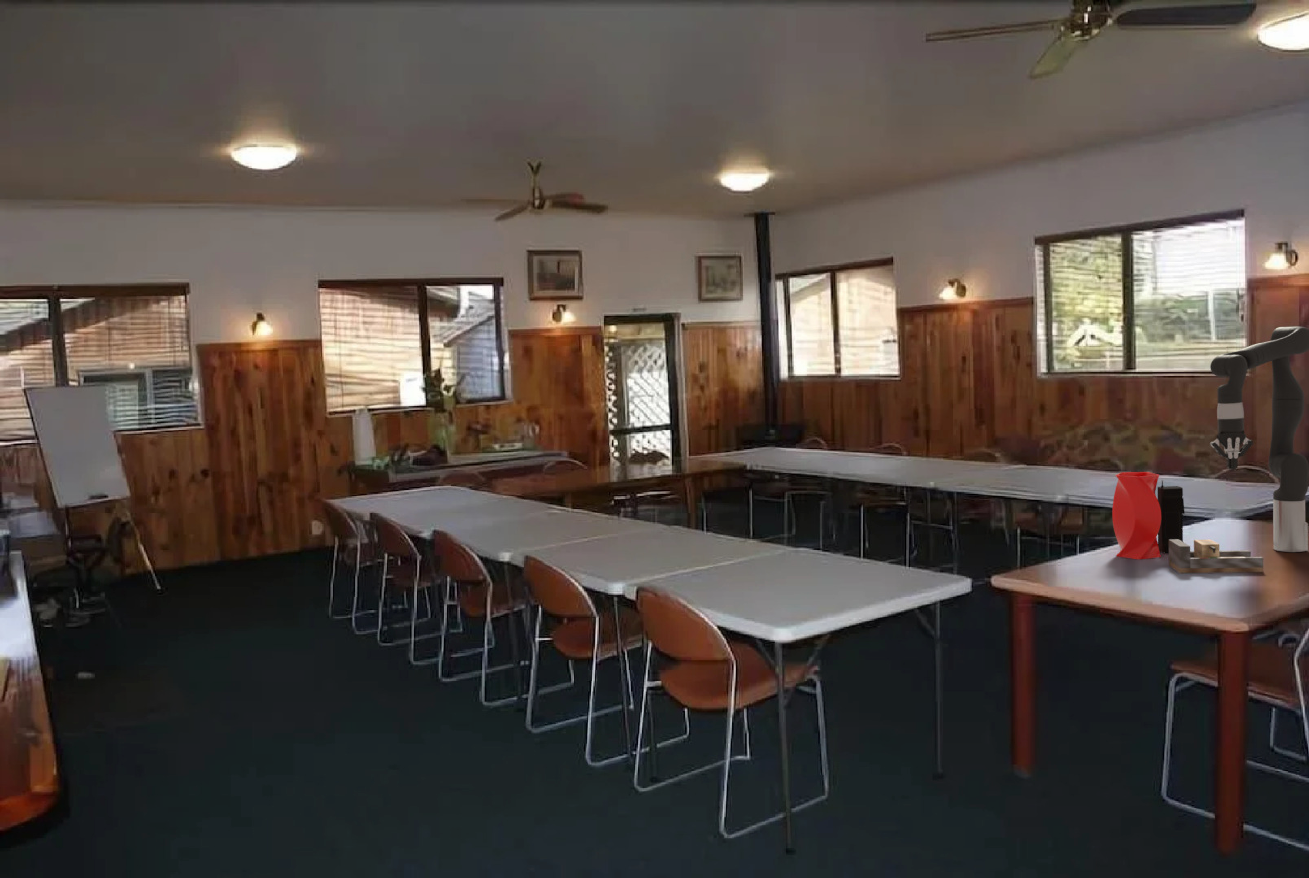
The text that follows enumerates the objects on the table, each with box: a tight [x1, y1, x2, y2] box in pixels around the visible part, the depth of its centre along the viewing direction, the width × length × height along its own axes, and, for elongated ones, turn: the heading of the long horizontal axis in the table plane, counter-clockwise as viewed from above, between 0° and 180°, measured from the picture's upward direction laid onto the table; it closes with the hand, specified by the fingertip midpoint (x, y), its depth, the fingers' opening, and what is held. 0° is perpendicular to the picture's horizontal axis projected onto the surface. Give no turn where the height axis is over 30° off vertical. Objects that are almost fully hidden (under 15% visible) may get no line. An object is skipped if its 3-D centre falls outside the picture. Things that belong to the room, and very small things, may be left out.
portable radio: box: [1157, 480, 1186, 554], centre depth 359 cm, size 8×6×25 cm
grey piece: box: [1168, 539, 1264, 574], centre depth 332 cm, size 24×12×8 cm, turn 79°
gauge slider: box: [1193, 539, 1220, 558], centre depth 330 cm, size 5×12×7 cm, turn 169°
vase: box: [1111, 471, 1162, 560], centre depth 357 cm, size 15×14×28 cm
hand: (1232, 469), depth 339 cm, fingers closed
